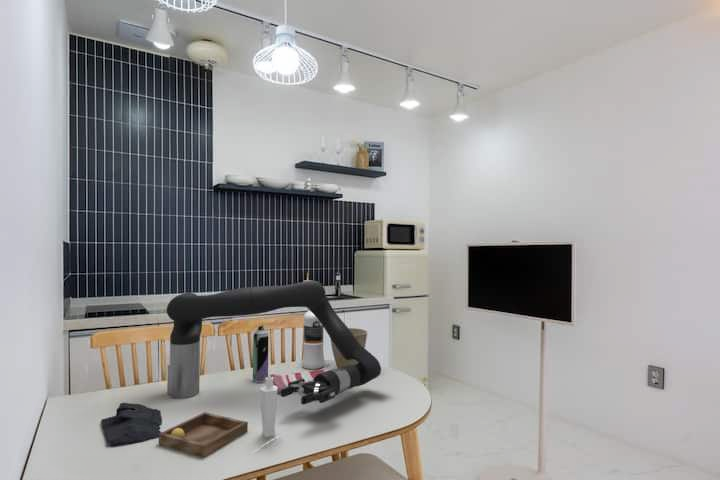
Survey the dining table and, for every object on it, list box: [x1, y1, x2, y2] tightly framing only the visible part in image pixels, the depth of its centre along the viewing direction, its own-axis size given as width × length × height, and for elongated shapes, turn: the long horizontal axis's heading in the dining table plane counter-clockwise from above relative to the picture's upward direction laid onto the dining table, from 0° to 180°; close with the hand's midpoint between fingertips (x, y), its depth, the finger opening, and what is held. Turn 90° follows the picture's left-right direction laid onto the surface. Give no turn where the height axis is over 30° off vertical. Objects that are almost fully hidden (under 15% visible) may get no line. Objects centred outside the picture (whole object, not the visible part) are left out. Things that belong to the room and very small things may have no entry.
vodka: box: [301, 309, 326, 370], centre depth 172 cm, size 9×9×30 cm
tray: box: [158, 411, 249, 459], centre depth 107 cm, size 15×15×3 cm
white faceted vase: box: [259, 376, 278, 439], centre depth 110 cm, size 5×4×15 cm
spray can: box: [252, 325, 269, 384], centre depth 154 cm, size 6×6×20 cm
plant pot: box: [330, 327, 368, 368], centre depth 166 cm, size 15×15×16 cm
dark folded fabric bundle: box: [100, 402, 163, 447], centre depth 113 cm, size 15×22×5 cm
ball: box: [171, 428, 184, 438], centre depth 105 cm, size 3×3×3 cm
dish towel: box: [269, 369, 330, 395], centre depth 152 cm, size 17×23×3 cm
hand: (291, 397), depth 116 cm, fingers open, 8 cm apart
